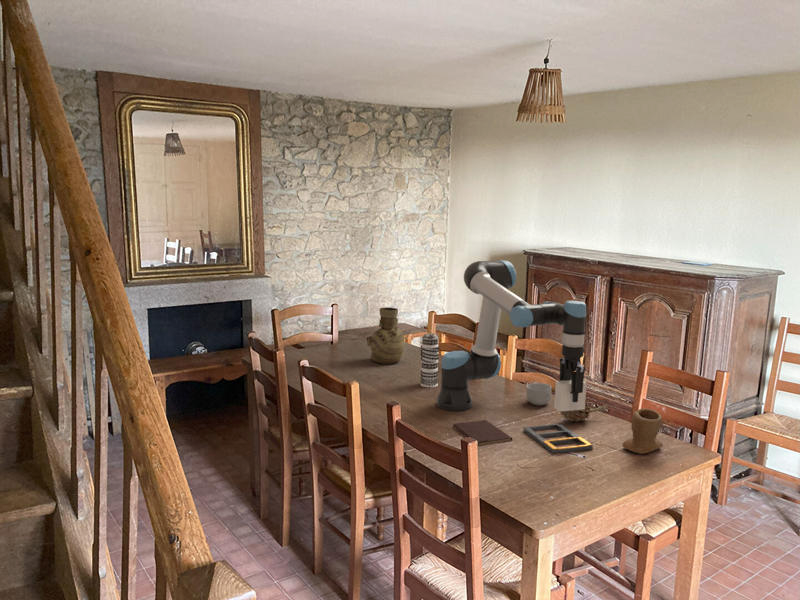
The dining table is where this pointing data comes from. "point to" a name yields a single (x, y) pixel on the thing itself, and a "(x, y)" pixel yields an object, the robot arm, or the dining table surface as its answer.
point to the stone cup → (644, 431)
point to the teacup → (538, 393)
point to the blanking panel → (567, 396)
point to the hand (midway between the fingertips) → (569, 407)
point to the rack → (550, 443)
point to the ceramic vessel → (387, 338)
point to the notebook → (482, 432)
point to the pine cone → (581, 413)
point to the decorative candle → (429, 360)
